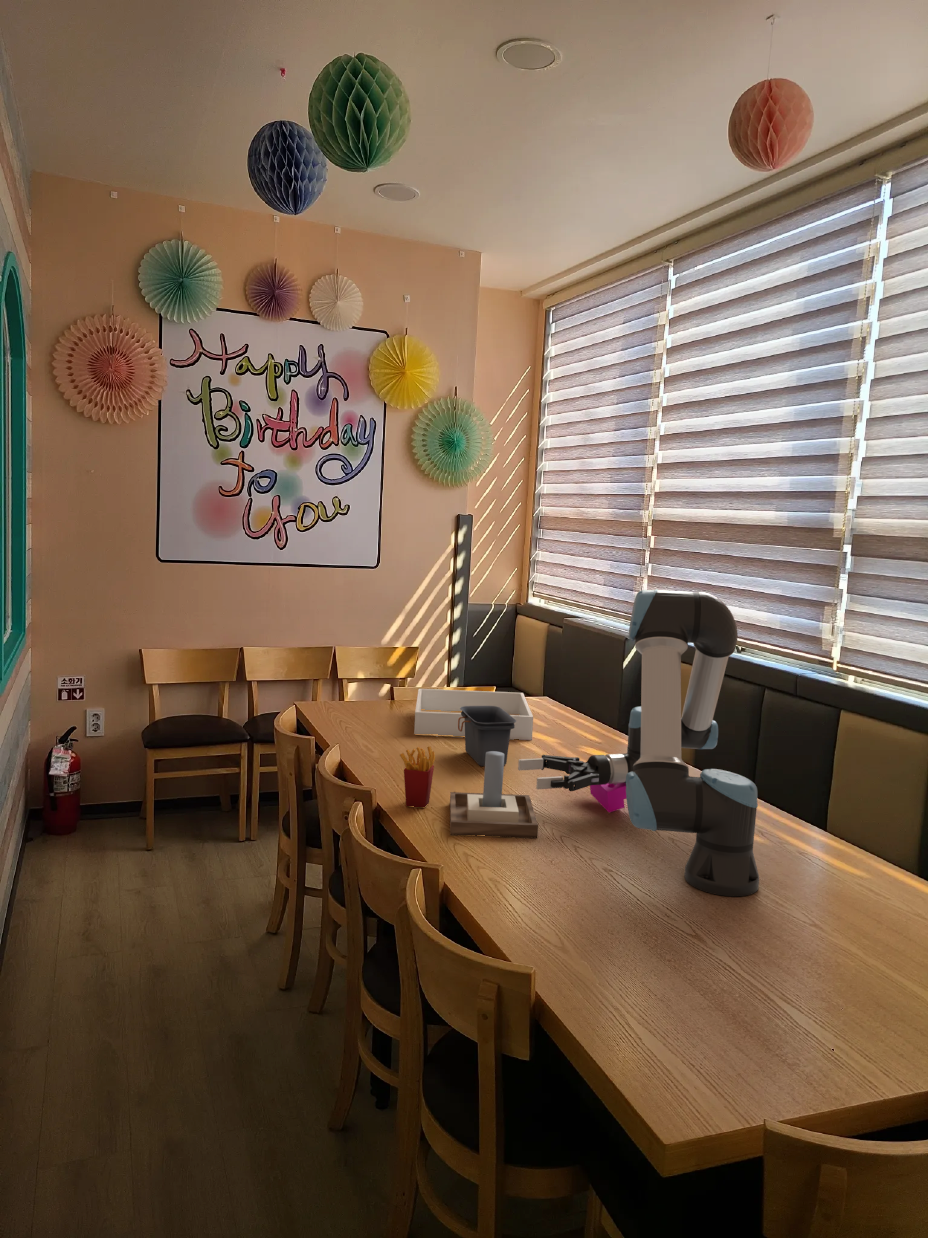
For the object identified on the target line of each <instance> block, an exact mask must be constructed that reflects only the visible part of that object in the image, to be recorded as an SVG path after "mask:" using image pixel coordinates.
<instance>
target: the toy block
mask: <svg viewBox="0 0 928 1238" xmlns="http://www.w3.org/2000/svg"><path fill="white" fill-rule="evenodd" d="M589 790H590V795H591V796H592V797H593V798H594V799H595V800H596V801H597V802H598V803H599V805H601V806H602V807H603V809H605V810H606V811H607V812H608V813H612V812H615V811H618V810H621V809H624V808H625V800H627V798H626V783H617V785H614V784H608V783H607V784H605V785H591V786H589Z"/></svg>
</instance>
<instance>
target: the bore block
mask: <svg viewBox="0 0 928 1238" xmlns="http://www.w3.org/2000/svg"><path fill="white" fill-rule="evenodd" d="M482 805H483V795H475V794H467V820H468V821H484V822H511V823H518V816H519V811H518V807H517V803H516V799H515V796H502V800H501V807H482Z"/></svg>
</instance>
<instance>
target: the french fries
mask: <svg viewBox="0 0 928 1238" xmlns="http://www.w3.org/2000/svg"><path fill="white" fill-rule="evenodd" d="M426 749H427V752H428V756H427V755H426V750H425V749H423V747H420V746H418V747H416V749H415V748H413V749H412V751H410V749H407V750H405V752H406V754H407V757H408V759H407V757H406V755H405V754H404V752H402V753H400V754H399V756H400V757H401V760H402V762H403V763H404V766H405V768H404V769H403V775H404V777H403V779H404V791H405V792H404V794H405V795H404V796H405V806H414V807H425V806H426V805H427V804H428V805H429V803H430V799H431V798H430V797H431V791H432V782H433V778H434V777H433V775H434V769H435V765H434V763H435V761H436V753H435V751H434V750H433V749H432V746H427V748H426ZM416 751H417V756H416V759H415V757H414V756H413V755H414V754H415V752H416ZM428 805H427V806H428ZM427 806H426V807H427ZM414 807H413V808H414ZM426 807H425V808H426Z"/></svg>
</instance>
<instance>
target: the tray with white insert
mask: <svg viewBox="0 0 928 1238" xmlns="http://www.w3.org/2000/svg"><path fill="white" fill-rule="evenodd" d="M467 794H475V795H483V792H482V793H481V792H459V791H458V792H457V791H456V792H455V791H454V792H453V791H450V794H449V795H450V796H449V820H450V821H449V830H450V833H449V835H450V836H458V835H475V836H474V837H478V836H477V835H485V836H500V837H499V838H512V837H515V838H516V839H517V838H519V839H538V832H539V823H538V820H537V817H536V812H535V810H534V806H533V803H532V801H531V796H530V795H529V794H513V793H512V794H510V793H508V794H507V793H506V794H505V793H502V796H515V799H516V803H517V807H518V811H519V816H518V823H511V822H484V821H468V820H467ZM485 836H484V837H485ZM515 838H514V839H515Z"/></svg>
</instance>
